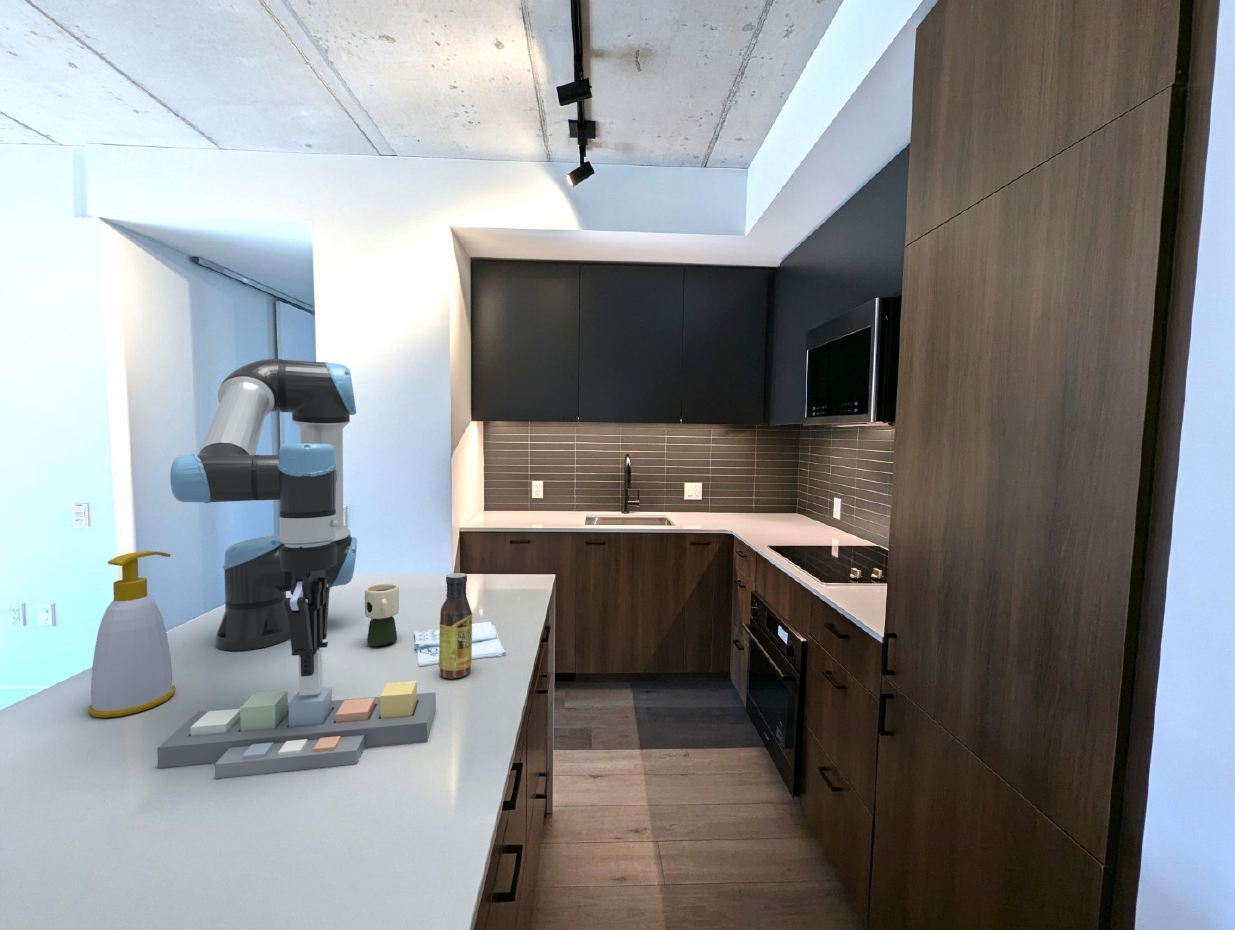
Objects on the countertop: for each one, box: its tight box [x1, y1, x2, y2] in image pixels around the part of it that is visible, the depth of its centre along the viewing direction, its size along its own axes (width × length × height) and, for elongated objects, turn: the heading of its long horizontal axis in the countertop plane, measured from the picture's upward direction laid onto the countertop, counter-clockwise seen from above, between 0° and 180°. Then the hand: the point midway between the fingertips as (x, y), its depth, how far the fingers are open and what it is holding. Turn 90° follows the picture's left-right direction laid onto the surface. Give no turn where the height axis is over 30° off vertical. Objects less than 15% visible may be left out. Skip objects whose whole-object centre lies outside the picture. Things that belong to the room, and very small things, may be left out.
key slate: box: [288, 686, 333, 727], centre depth 82 cm, size 5×5×4 cm
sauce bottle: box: [438, 572, 473, 680], centre depth 104 cm, size 7×6×20 cm
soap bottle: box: [88, 550, 176, 719], centre depth 91 cm, size 11×12×26 cm
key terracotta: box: [335, 697, 375, 723], centre depth 83 cm, size 5×5×4 cm
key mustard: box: [380, 680, 418, 719], centre depth 84 cm, size 5×5×4 cm
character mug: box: [364, 583, 400, 647], centre depth 119 cm, size 11×7×13 cm, turn 30°
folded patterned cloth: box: [413, 621, 507, 668], centre depth 119 cm, size 19×20×2 cm
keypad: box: [156, 691, 437, 780], centre depth 80 cm, size 14×36×3 cm, turn 102°
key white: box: [191, 708, 240, 736], centre depth 79 cm, size 5×5×4 cm
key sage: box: [239, 690, 289, 732], centre depth 80 cm, size 5×5×4 cm
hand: (310, 692), depth 81 cm, fingers closed
